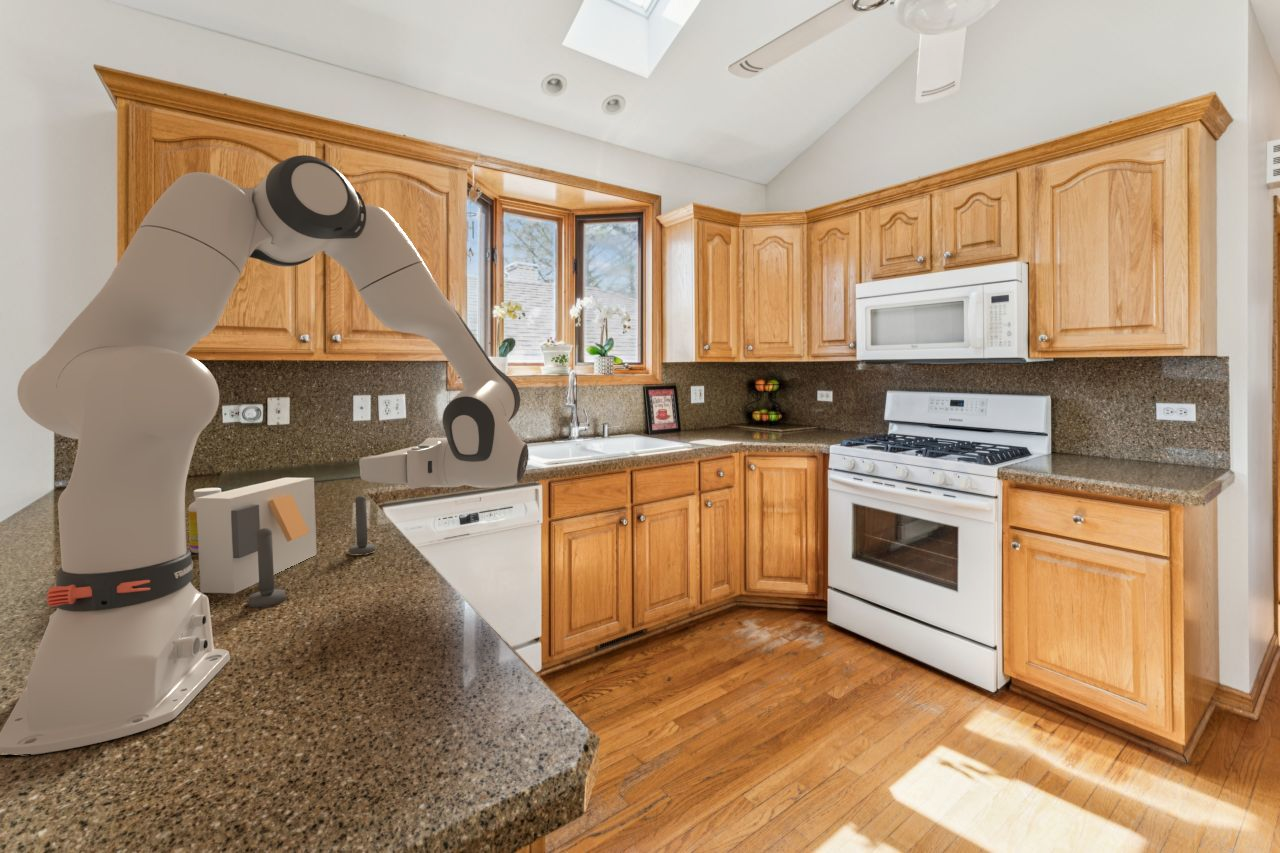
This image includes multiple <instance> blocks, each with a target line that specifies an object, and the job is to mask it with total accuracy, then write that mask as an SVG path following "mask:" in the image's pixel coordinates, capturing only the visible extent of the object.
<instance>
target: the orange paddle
mask: <svg viewBox="0 0 1280 853" xmlns="http://www.w3.org/2000/svg"><path fill="white" fill-rule="evenodd" d="M268 503H269V505H270V507H271V509H272V511H273V513H274V515H275V517H276V519H277V522H278V524H279V526H280V528H281V530H282V532H283V534H284V536H285V538H286V540H287V542H289V541H291V540H294V539H296V538H299V537H301V536H304V535H306V534H308V533H310V532H309V530H308V528H307V526H306V524H305V522H304V520H303V518H302V516H301V514H300V512H299V510H298V507H297V505H296V503H295V501H294V499H293V497H292V495H287V496H284V497H280V498H276V499H273V500H271V501H269V502H268Z"/></svg>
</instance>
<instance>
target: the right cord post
mask: <svg viewBox="0 0 1280 853" xmlns="http://www.w3.org/2000/svg"><path fill="white" fill-rule="evenodd" d="M367 518H368V516H367V498H366V496H364V495H362V494H361V495H358V496H357V497H356V498H355V528H356V544H354V545H352V546H349V547H348V554H349V553H350V554H366V553H370V552H373V551H375V549H376V544H374V543H368V523H367V522H368V521H367V520H368V519H367Z"/></svg>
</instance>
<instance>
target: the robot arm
mask: <svg viewBox="0 0 1280 853" xmlns="http://www.w3.org/2000/svg"><path fill="white" fill-rule="evenodd" d="M364 201H365V200H364V199H363V196H362V195H361V193H359V192H358V191H357V190H356V189H354V187H353V185H352V184H351V183H350V180H348V179H347V178H346V177H345V176H344V174H342V173H341V172H340V171H339V170H338V169H337V168H336V167H334V166H333V165H332V164H330V163H329V162H327V161H325V160H323V159H321V158H318V157H317V156H312V155H306V154H305V155H295V156H291V157H288V158H286V159H284V160H282V161H280V162H279V163H277V164H275V165H274V166H273V167H272V168H271V169H270V171H269V172H268V174H267V175H266V176H265V177H264V178H262V179H261V180H260V181H259V183H257V184H256V185H255V186H253V187H242V186H238V185H236V184H235V183H233V182H231V181H230V180H229V179H226V178H224V177H222V176H219V175H216V174H213V173H209V172H201V171H195V172H194V171H193V172H188V173H186V174H183V175H180V177H178V178H177V179H176V180H175V181H173V183H172V184H171V185H170V186H168V187H167V189H166V190H165V191H164V192H163V193H162V194H161V195H160V197H159V198H158V199H157V200H156V201H155V202H154V204H153V205H152V207H151V208H150V210H149V211H148V213H146V215H145V216H144V218H143V220H142V221H141V223H140V224H139V227H138V228H137V230H136V231H135V233H134V235H133V237H132V238H131V240H130V242H129V243H128V245H127V247H126V249H125V250H124V251H123V254H122V256H121V257H120V259H119V261H118V263H117V265H116V266H115V268H114V270H113V271H112V273H111V274H110V277H109V278H108V279H107V281H106V282H105V284H104V285H103V286H102V288H101V289H100V291H99V292H98V293H97V294H96V295H95V297H94V298H93V299H92V300H91V301H90V302H89V304H88V305H86V307H84V309H82V311H81V312H80V313H79V314H78V315H77V317H76V318H75V319H74V320H73V321H72V322H71V323H70V325H69V326H67V328H66V329H65V330H64V332H63V333H62V334H61V335H60V336H59V338H58V339H57V340H56V342H54V344H53V345H52V346H51V347H50V349H49V350H48V351H47V352H46V353H45V354H44V355H43V356H42V357H40V358H39V360H37V361H35V362H34V363H33V364H31V365H30V366H29V367H28V368H27V369H26V370H25V371H24V372H23V374H22V376H21V377H20V379H19V381H18V385H17V391H16V392H17V398H18V403H19V405H20V407H21V409H22V411H23V412H24V413H25V414H26V415H27V416H28V417H29V418H30V419H31V420H32V421H34V422H35V423H36V424H38V425H39V426H41V427H43V428H44V429H46V430H48V431H50V432H53V433H54V434H57V435H59V436H62V437H65V438H69V439H73V440H74V439H75V440H77V441H78V443H77V449H76V450H77V451H76V456H75V459H74V465H73V469H72V472H71V475H70V478H69V481H68V484H67V486H66V487H65V489H64V490H63V491H62V492H61V494H60V495H59V498H58V502H57V510H58V511H57V513H58V514H57V515H58V528H59V529H58V530H59V543H60V545H59V546H60V547H59V548H60V560H61V562H60V563H61V567H60V568H58V570H57V571H56V580H55V582H54V586H51V587H50V588H49V589H48V590H47V592H48V593H47V594H46V597H47V598H46V601H47V602H46V603H47V604H46V605H48V607H55V609H56V610H55V611H53V613H52V614H51V615H50V616H49V622H48V624H47V626H46V629H45V630H44V633H43V636H42V638H41V641H40V643H39V646H38V649H37V651H36V654H35V656H34V659H33V661H32V664H31V667H30V670H29V672H28V676H27V679H26V686H25V688H24V690H23V691H22V693H21V695H20V697H19V699H18V700H17V702H16V703H15V705H14V708H13V709H12V711H11V713H10V714H9V716H8V718H7V720H6V721H5V723H4V725H3V726H2V729H1V730H0V753H1V754H2V753H4V754H6V753H7V754H31V755H40V754H46V753H53V752H59V751H65V750H69V749H74V748H80V747H84V746H89V745H93V744H98V743H102V742H104V743H105V742H107V741H112V740H115V739H119V738H122V737H128V736H130V735H133V734H134V735H135V734H137V733H140V732H143V731H146V730H150V729H153V728H155V727H158V726H161V725H163V724H165V723H168V722H171V721H172V720H174V719H175V718H177V717H178V716H179V715H180V713H181V712H183V710H185V708H186V707H187V706H188V705H189V704H190V703H191V702H192V701H193V699H195V698H196V696H197V695H198V694H199V693H200V692H201V691H202V690H203V689H204V688H205V687H206V686H207V685H208V684H209V683H210V681H211V680H213V678H214V677H215V676H216V675H217V674H218V673H219V672H220V671H221V670H222V668H224V667H225V666H226V665H227V664H228V662H229V661H230V660H231V656H230V652H229V650H226V649H222V648H215V647H214V639H213V628H212V617H211V610H210V608H211V607H210V601H209V597H208V595H206V594H204V593H201V591H199V590H198V589H196V587H195V586H194V585H193V584H192V582H191V581H192V580H193V578H194V576H193V574H194V572H193V568H194V561H193V559H192V552H191V550H190V549H187V533H186V531H187V530H186V501H185V499H186V498H185V497H186V484H187V480H188V474H189V470H190V466H191V462H192V458H193V454H194V451H195V447H196V445H197V442H198V440H199V439H198V438H199V436H200V435H201V433H202V431H203V430H204V429H205V428H206V427H207V426H208V425H209V424H210V423H211V422H212V420H213V419H214V417H215V416H216V413H217V411H218V408H219V406H220V405H219V404H220V390H219V386H218V383H217V381H216V378H215V377H214V375H213V374H212V372H211V371H210V369H208V368H207V367H206V365H204V364H203V363H202V362H200V361H199V360H197V359H196V358H194V357H192V356H190V355H187V354H188V352H190V350H191V349H192V348H193V347H195V345H197V343H199V342H200V341H201V340H202V339H204V338H205V337H207V336H209V335H210V333H212V331H214V330H215V328H216V327H217V326H218V323H219V322H220V320H221V317H222V315H223V313H224V312H225V309H226V306H227V305H228V303H229V301H230V298H231V296H232V294H233V292H234V290H235V288H236V286H237V284H238V282H239V280H240V277H241V275H242V274H243V271H244V268H245V266H246V263H247V262H248V260H249V258H252V259H255V260H259V261H261V262H263V263H267V264H269V265H272V266H277V267H295V266H298V265H302V264H305V263H307V262H308V261H310V260H311V259H312V258H314V257H315V255H317V254H319V253H321V252H323V253H324V254H325V255H326V256H328V257H330V258H331V259H332V260H334V261H335V262H336V263H338V264H339V265H340V266H341V267H342V268H343V270H344V271H345V272H346V273H347V275H348V276H349V278H350V280H351V282H352V284H353V285H354V287H355V288H356V290H357V292H358V294H359V295H360V297H361V298H362V300H363V302H364V304H365V305H366V307H367V308H368V310H369V311H370V313H372V314H373V315H374V317H375V318H376V319H377V320H379V322H380V323H381V324H382V325H383V326H385V327H386V328H388V329H390V330H393V331H396V332H400V333H404V334H411V335H412V334H413V335H417V336H419V337H423V338H425V339H428V340H429V341H431V342H432V343H433V344H435V345H436V347H437V348H438V349H439V350H440V351H441V353H442V354H443V356H444V357H445V358H446V360H447V361H448V363H449V364H450V365H451V367H452V368H453V370H454V371H455V372H456V374H457V375H458V376H459V378H460V380H461V382H462V386H463V388H462V390H461V391H460V392H459V393H458V394H456V395H455V397H453V398H452V400H450V401H449V402H448V403H447V405H446V407H445V408H444V410H443V414H442V426H443V430H444V433H445V437H428V438H425V440H424V441H423V442H421V443H420V444H418V445H417V446H416V445H415V446H414V445H413V446H410V447H405V448H401V449H397V450H393V451H390V452H385V453H381V454H375V455H367V456H363V457H360V458H358V464H359V474H360V479H361V480H362V481H364V482H369V483H377V484H378V483H379V484H380V483H381V484H389V485H390V484H391V485H407V487H408V488H411V489H420V488H458V487H461V486H469V487H473V488H482V489H483V488H487V489H488V488H490V489H491V488H502V487H504V488H505V487H510V486H514V485H516V484H518V483H519V482H520V481H521V480H522V478H523V476H524V475H525V473H526V470H527V466H528V462H529V448H528V444H527V442H524V441H523V440H522V439H521V438H520V437H519V436H518V435H517V434H516V433H515V431H514V430H513V427H511V425H510V421H511V420H512V419H514V418H515V416H517V413H518V411H519V410H520V406H521V395H520V392H519V388H518V386H517V385H516V384H515V382H514V380H512V379H511V377H509V376H508V375H507V374H505V373H504V372H503V371H502V370H500V369H499V368H498V367H497V366H496V365H495V363H493V361H492V360H491V359H490V357H489V356H488V354H487V353H486V352H485V350H484V349H483V347H482V346H481V345H480V342H479V341H478V340H477V338H476V337H475V335H474V334H473V333H472V331H471V330H470V328H469V327H468V325H467V323H466V322H465V321H464V319H463V318H462V316H461V315H460V313H458V311H457V310H456V308H455V307H454V306H453V305H452V304H451V302H450V301H449V300H448V299H447V297H446V296H445V295H444V293H443V291H442V290H441V288H440V287H439V285H438V284H437V282H436V280H435V279H434V277H433V275H432V273H431V272H430V270H429V268H428V267H427V265H426V263H425V262H424V260H423V259H422V257H421V256H420V254H419V252H418V251H417V249H416V247H415V246H414V244H413V243H412V241H411V240H410V239H409V237H408V236H407V235H406V233H405V232H404V231H403V229H402V228H401V227H400V225H399V223H397V222H396V220H395V219H394V218H393V217H392V215H391V214H390V213H389V212H388V211H387V210H385V209H384V208H382V207H380V206H378V205H374V204H365V202H364Z"/></svg>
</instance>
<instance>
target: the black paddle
mask: <svg viewBox="0 0 1280 853" xmlns="http://www.w3.org/2000/svg"><path fill="white" fill-rule="evenodd" d="M231 515H232V537H233V558H241V557H244V556H247V555H249V554H252V553H254V552H257V551H258V544H257V533H258V531H259V530H260V519H259V505H250V506H246V507H243V508H239V509H235V510H232V511H231Z"/></svg>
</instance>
